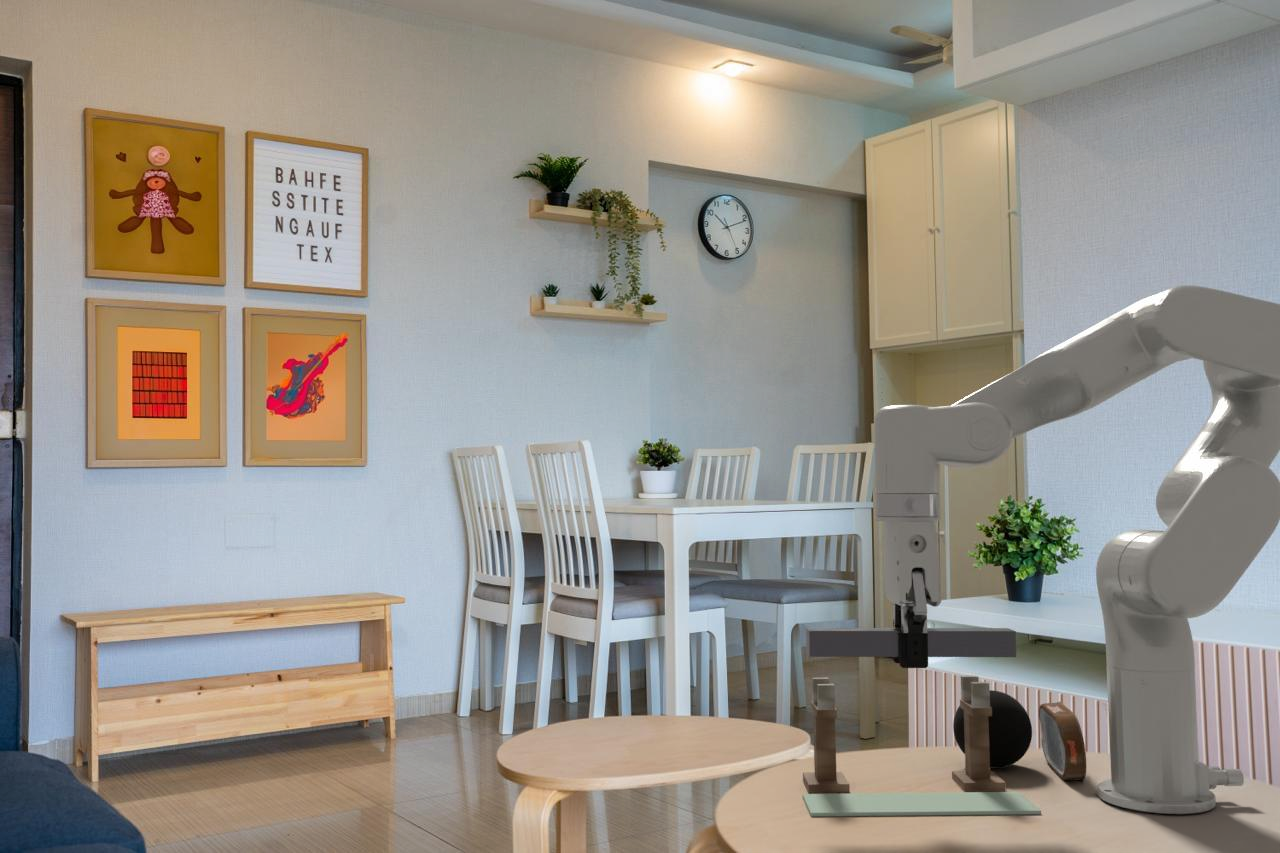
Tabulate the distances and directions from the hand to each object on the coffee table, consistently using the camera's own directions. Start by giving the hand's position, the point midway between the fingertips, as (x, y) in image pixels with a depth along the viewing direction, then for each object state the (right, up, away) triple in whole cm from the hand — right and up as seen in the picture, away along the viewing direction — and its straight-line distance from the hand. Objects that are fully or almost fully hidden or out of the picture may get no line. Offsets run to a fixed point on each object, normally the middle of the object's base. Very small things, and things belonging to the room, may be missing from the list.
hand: (910, 663), depth 132 cm
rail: (0, +1, 0) cm, 1 cm away
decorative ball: (+15, -18, +17) cm, 28 cm away
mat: (+1, -16, -1) cm, 16 cm away
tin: (+23, -17, +13) cm, 32 cm away
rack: (+1, -17, +8) cm, 19 cm away
